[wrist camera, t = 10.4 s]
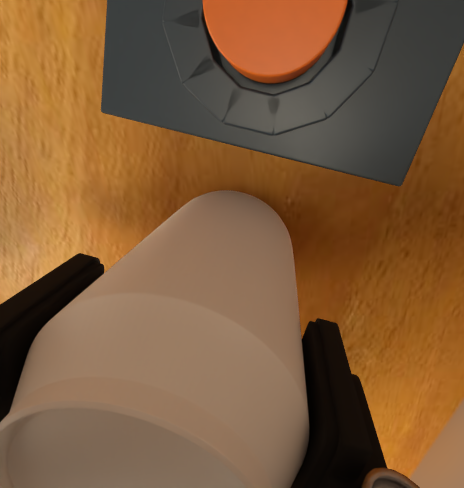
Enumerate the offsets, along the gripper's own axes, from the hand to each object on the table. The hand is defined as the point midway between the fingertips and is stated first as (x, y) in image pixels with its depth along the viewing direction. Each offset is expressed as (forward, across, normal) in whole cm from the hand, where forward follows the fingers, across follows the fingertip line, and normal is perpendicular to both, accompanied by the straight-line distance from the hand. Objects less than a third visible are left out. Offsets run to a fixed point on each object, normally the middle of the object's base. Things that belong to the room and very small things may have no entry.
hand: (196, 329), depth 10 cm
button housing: (+8, 0, -9) cm, 12 cm away
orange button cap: (+3, 0, -9) cm, 10 cm away
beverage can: (+7, 0, 0) cm, 7 cm away
